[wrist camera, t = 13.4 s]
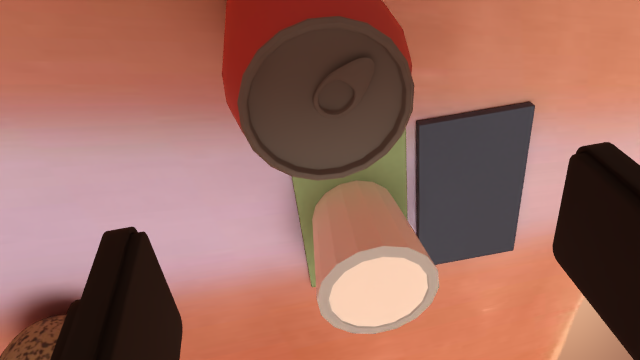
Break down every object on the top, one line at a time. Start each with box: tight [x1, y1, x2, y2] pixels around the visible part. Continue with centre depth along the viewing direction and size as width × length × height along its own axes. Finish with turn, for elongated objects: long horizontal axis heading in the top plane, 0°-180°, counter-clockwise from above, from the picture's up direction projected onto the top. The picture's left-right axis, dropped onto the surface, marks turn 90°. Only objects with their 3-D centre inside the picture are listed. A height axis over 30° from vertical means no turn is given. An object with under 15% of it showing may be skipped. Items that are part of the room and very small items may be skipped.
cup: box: [312, 180, 439, 334], centre depth 30 cm, size 7×7×7 cm
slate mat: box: [416, 102, 535, 265], centre depth 34 cm, size 12×7×1 cm, turn 7°
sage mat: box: [292, 128, 407, 287], centre depth 33 cm, size 12×7×1 cm, turn 7°
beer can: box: [222, 0, 414, 181], centre depth 20 cm, size 7×7×12 cm
